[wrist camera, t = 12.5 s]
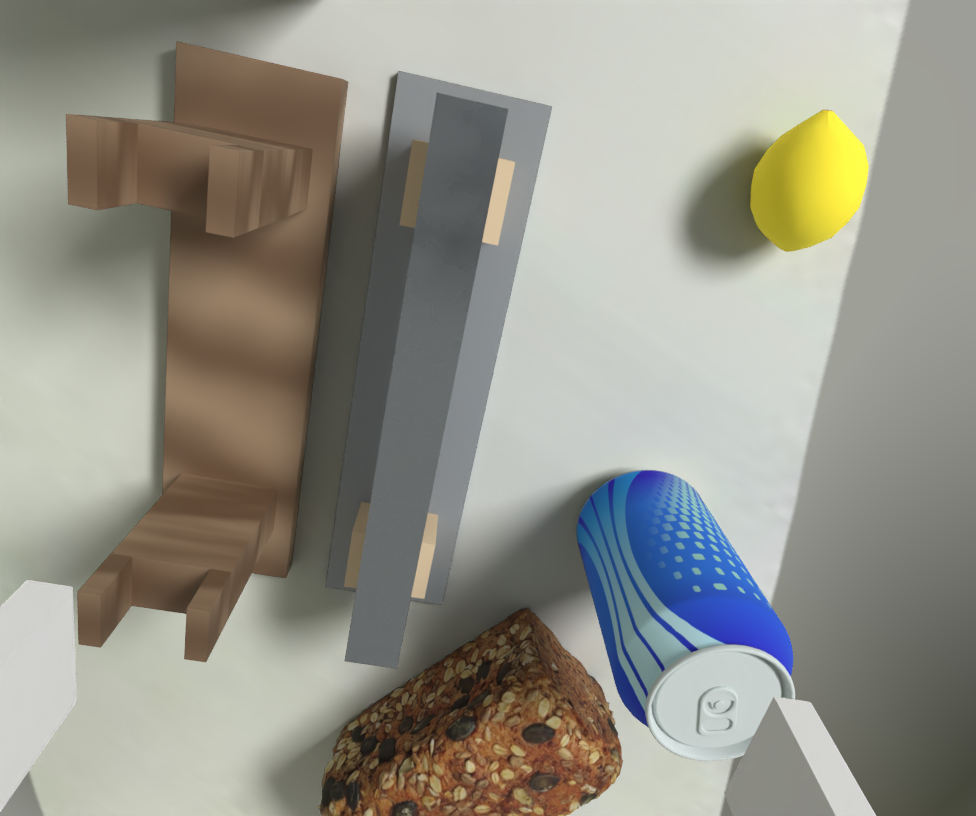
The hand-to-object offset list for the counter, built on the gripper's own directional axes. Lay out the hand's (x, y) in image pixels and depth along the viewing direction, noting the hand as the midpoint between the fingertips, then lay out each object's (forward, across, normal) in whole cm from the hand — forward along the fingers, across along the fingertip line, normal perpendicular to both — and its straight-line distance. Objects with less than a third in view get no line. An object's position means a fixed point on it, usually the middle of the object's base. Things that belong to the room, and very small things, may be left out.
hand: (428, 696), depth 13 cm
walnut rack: (+28, -12, -4) cm, 31 cm away
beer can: (+28, +14, -11) cm, 33 cm away
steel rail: (+24, -1, -4) cm, 25 cm away
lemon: (+29, +16, +11) cm, 35 cm away
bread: (+28, +6, -29) cm, 41 cm away
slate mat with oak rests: (+28, -1, -4) cm, 29 cm away
